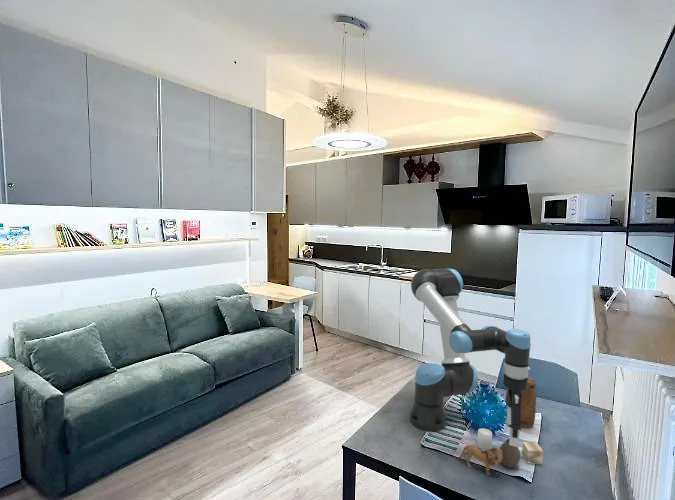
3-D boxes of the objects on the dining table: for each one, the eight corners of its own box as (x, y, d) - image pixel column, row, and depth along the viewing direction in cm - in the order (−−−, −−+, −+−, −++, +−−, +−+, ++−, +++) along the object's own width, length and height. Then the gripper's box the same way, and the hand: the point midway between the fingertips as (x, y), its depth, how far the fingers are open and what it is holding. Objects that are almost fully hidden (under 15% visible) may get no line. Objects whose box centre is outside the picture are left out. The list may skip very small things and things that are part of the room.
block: (528, 419, 162) (532, 375, 160) (535, 429, 154) (539, 382, 152) (502, 417, 163) (505, 373, 161) (508, 427, 156) (511, 380, 153)
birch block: (527, 463, 133) (528, 450, 133) (521, 454, 138) (522, 441, 138) (542, 464, 133) (543, 451, 132) (535, 455, 138) (537, 442, 137)
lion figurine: (502, 470, 129) (504, 445, 129) (500, 479, 125) (502, 454, 124) (458, 456, 136) (459, 432, 135) (455, 464, 131) (456, 440, 131)
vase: (520, 472, 128) (522, 448, 127) (498, 467, 130) (500, 444, 130) (518, 460, 135) (520, 437, 134) (497, 455, 137) (499, 433, 136)
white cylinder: (476, 449, 140) (477, 434, 140) (476, 441, 145) (477, 427, 144) (491, 452, 139) (492, 437, 138) (490, 444, 143) (492, 430, 143)
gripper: (533, 393, 116) (528, 458, 118) (523, 364, 140) (519, 418, 141) (506, 388, 119) (502, 452, 121) (501, 360, 142) (498, 414, 144)
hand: (511, 434), depth 131 cm, fingers open, 13 cm apart
